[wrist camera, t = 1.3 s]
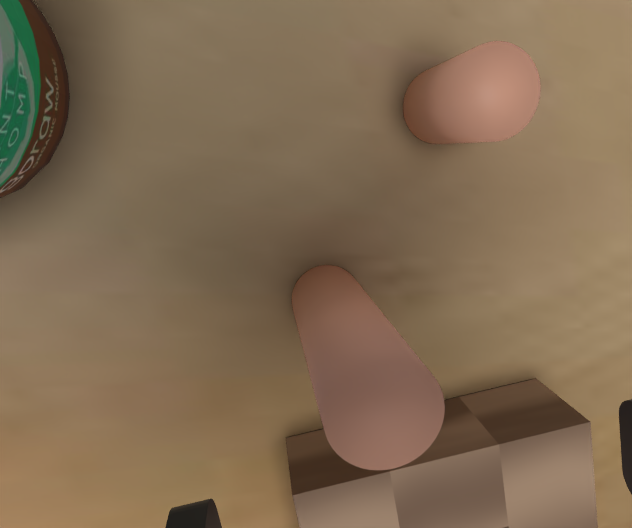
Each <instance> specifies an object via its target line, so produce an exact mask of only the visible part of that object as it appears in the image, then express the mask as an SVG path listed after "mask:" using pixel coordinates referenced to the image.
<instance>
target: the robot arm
mask: <svg viewBox="0 0 632 528" xmlns="http://www.w3.org/2000/svg"><path fill="white" fill-rule="evenodd" d="M619 423H620V439H621V454H622V470H623V475H624V479H625V482H626V484H627V487H628V489H629V491H630V492H631V494H632V399H631V400H627V401H624V402H622V404H621V405H620V408H619ZM166 528H222V526H221V523H220V519H219V515H218V512H217V508H216V505H215V503H214V501H213V499H208V500H203V501H199V502H195V503H191V504H187V505H182V506H178V507H174V508H172V509H171V510H170V512H169V516H168V520H167V524H166Z"/></svg>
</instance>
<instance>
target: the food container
mask: <svg viewBox="0 0 632 528" xmlns="http://www.w3.org/2000/svg"><path fill="white" fill-rule="evenodd" d="M69 97H70V96H69V84H68V75H67V70H66V66H65V62H64V58H63V54H62V52H61V50H60V47H59V45H58V42H57V40H56V37H55V35H54V33H53V31H52V30H51V28H50V26H49V24H48V23H47V21H46V19H45V18H44V16H43V14H42V13H41V12H40V10H39V9H38V8H37V7H36V5H35V4H34V3H33V2H32V0H0V198H1V197H3V196H6V195H8V194H10V193H12V192H15V191H17V190H19V189H21V188H23V187H24V186H25V185H26V184H27V183H28V182H29V181H30V180H31V179H32V178H33V177H34V176H35V175H36V174H37V173H38V172H39V171H40V170H41V169H42V168H43V167H45V166H46V165H47V164H48V163H49V161H50V159H51V158H52V156H53V154H54V152H55V150H56V148H57V146H58V144H59V142H60V140H61V138H62V136H63V133H64V129H65V125H66V122H67V118H68V109H69Z"/></svg>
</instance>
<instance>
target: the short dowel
mask: <svg viewBox="0 0 632 528" xmlns="http://www.w3.org/2000/svg"><path fill="white" fill-rule="evenodd" d="M540 91H541V87H540V77H539V74H538V70H537V68H536V65H535V64H534V62H533V60H532V59H531V58H530V56H529V55H528V54H527V53H526V52H525V51H524V50H522V49H521V48H520V47H518V46H516V45H514V44H511V43H509V42H503V41H492V42H487V43H484V44H481V45H479V46H477V47H475V48H472V49H470V50H468V51H466V52H464V53H462V54H460V55H458V56H455V57H453V58H451V59H449V60H447V61H445V62H443V63H441V64H439V65H436V66H434V67H432V68H430V69H428V70H426V71H424V72H422V73H421V74H419V75H418V76H417V77H416V78H415V79H414V80H413V81H412V82H411V84H410V85H409V87H408V88H407V91H406V93H405V96H404V101H403V114H404V118H405V121H406V124H407V126H408V128H409V129H410V131H411V132H412V133H413V134H414V135H415V136H416V137H417V138H419V139H420V140H422V141H424V142H427V143H431V144H452V143H473V142H495V141H501V140H505V139H508V138H510V137H512V136H514V135H516V134H517V133H519V132H520V131H521V130H522V129H523V128H524V127H525V126H526V125H527V124H528V123H529V122H530V120H531V119H532V117H533V115H534V113H535V111H536V109H537V106H538V103H539V99H540Z"/></svg>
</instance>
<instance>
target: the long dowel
mask: <svg viewBox="0 0 632 528" xmlns="http://www.w3.org/2000/svg"><path fill="white" fill-rule="evenodd" d="M292 308H293V311H294V315H295V319H296V323H297V327H298V331H299V335H300V339H301V342H302V346H303V350H304V354H305V358H306V362H307V366H308V369H309V373H310V377H311V381H312V385H313V389H314V393H315V397H316V400H317V404H318V408H319V412H320V416H321V420H322V424H323V427H324V431H325V435H326V437H327V440H328V442H329V444H330V445H331V447H332V448H333V450H334V451H335V452H336V453H337V454H338V455H339V456H340V457H341V458H342V459H344V460H345V461H347V462H348V463H350V464H352V465H354V466H357V467H360V468H363V469H368V470H388V469H394V468H397V467H400V466H403V465H405V464H408V463H410V462H411V461H413V460H415V459H416V458H418V457H419V456H420V455H422V454H423V453H424V452H425V451H426V450H427V449H428V448H429V447H430V446H431V444H432V443H433V442H434V440H435V439H436V437H437V435H438V433H439V431H440V429H441V426H442V423H443V419H444V412H445V404H444V397H443V393H442V390H441V387H440V385H439V383H438V382H437V380H436V379H435V377H434V376H433V375H432V373H431V372H430V371H429V370H428V368H427V367H426V366H425V365H424V364H423V362H422V361H421V360H420V359H419V357H418V356H417V355H416V354H415V352H414V351H413V350H412V349H411V347H410V346H409V345H408V344H407V343H406V341H405V340H404V339H403V338H402V336H401V335H400V334H399V333H398V331H397V330H396V329H395V328H394V327H393V325H392V324H391V323H390V322H389V320H388V319H387V318H386V317H385V315H384V314H383V313H382V312H381V310H380V309H379V308H378V307H377V306H376V304H375V303H374V302H373V301H372V299H371V298H370V297H369V296H368V294H367V293H366V292H365V291H364V289H363V288H362V287H361V286H360V285H359V283H358V282H357V281H356V280H355V278H354V277H353V276H352V275H351V274H350V273H349V272H347V271H346V270H344V269H343V268H340V267H337V266H333V265H322V266H317V267H314V268H312V269H310V270H308V271H307V272H306V273H304V274H303V275H302V276H301V277H300V278H299V280H298V281H297V283H296V284H295V286H294V289H293V292H292Z"/></svg>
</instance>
